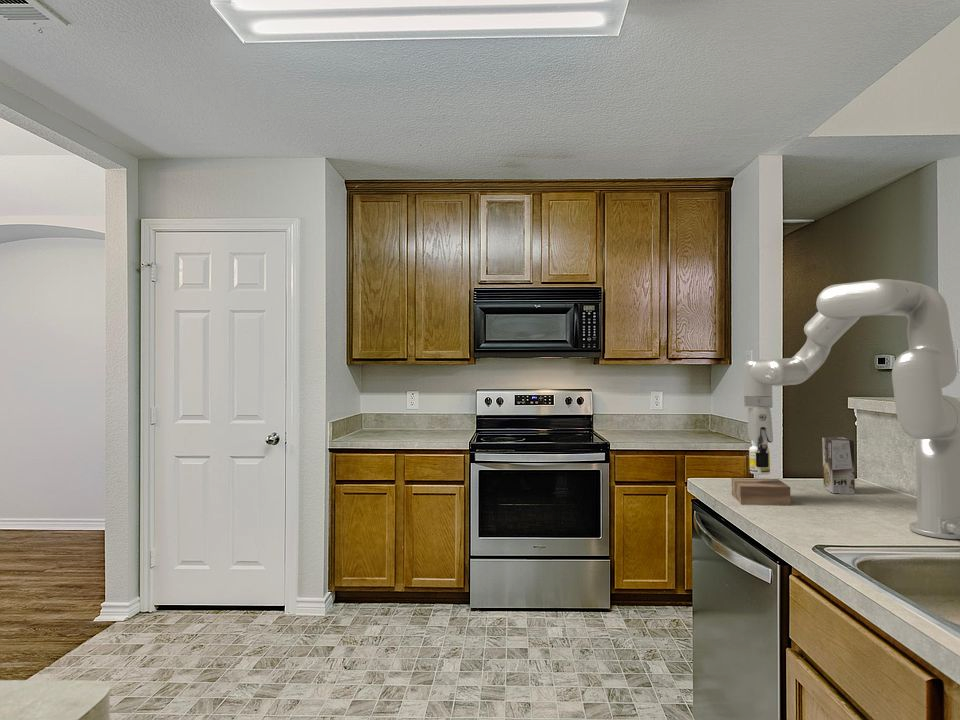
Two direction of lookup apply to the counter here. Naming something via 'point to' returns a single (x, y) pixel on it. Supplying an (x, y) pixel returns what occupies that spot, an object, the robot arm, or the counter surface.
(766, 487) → the walnut block
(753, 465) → the supplement bottle
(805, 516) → the counter surface
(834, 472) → the coffee box
